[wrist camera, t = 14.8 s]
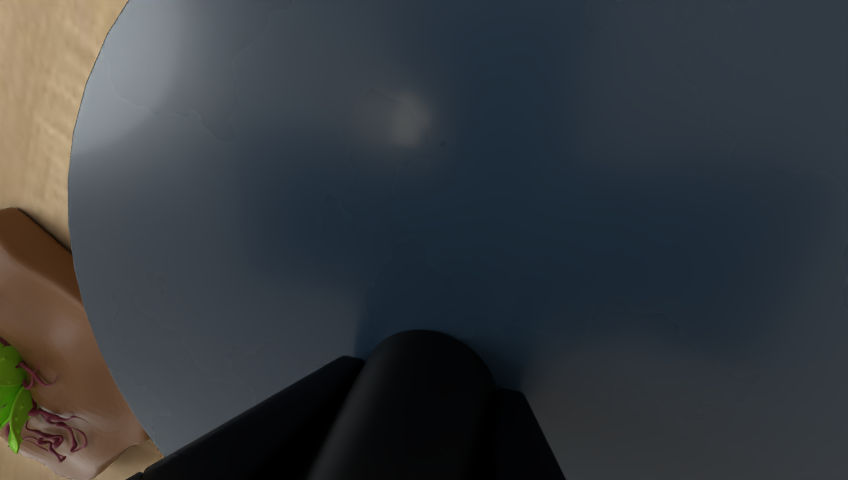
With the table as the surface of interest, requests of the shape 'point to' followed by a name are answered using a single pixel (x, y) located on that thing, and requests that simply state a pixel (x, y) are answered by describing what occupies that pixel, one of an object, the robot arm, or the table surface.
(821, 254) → the pot lid
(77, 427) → the plant
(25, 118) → the table surface
